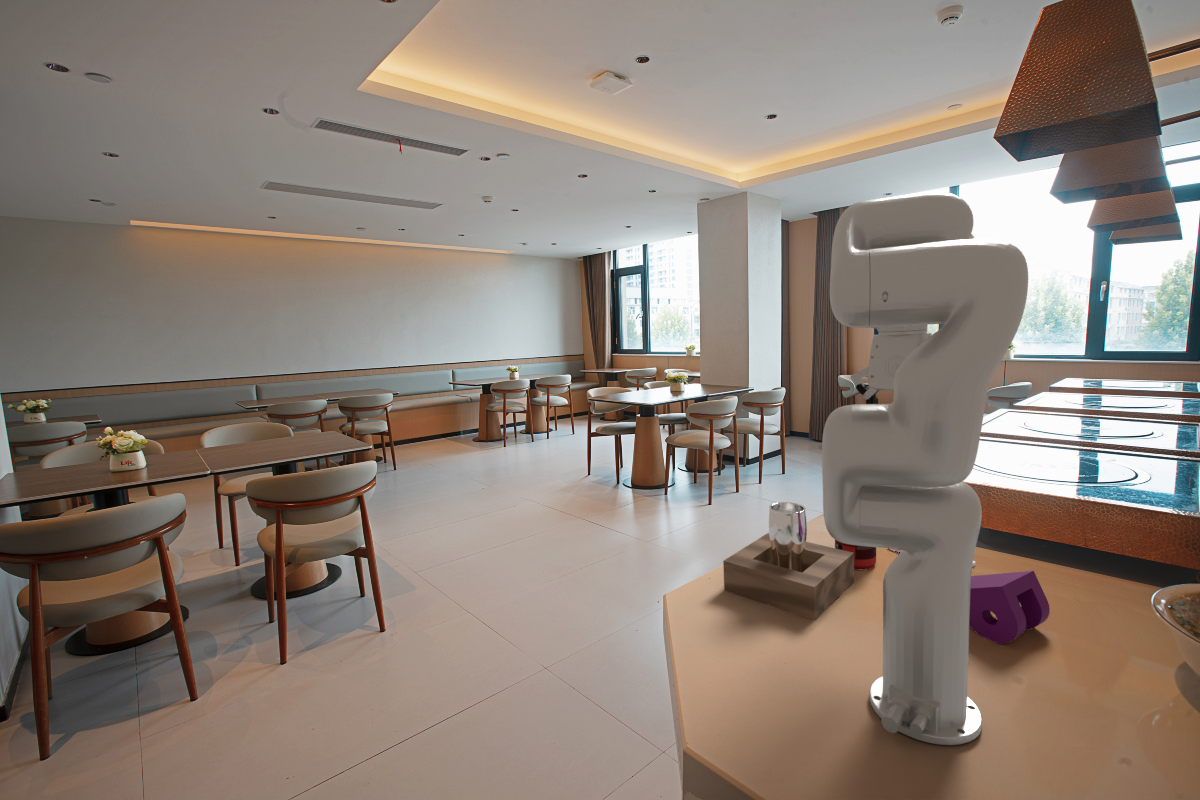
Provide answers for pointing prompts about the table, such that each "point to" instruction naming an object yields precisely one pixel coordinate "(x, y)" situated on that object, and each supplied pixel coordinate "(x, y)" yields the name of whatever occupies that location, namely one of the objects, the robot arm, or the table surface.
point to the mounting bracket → (1006, 605)
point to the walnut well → (790, 577)
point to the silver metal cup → (788, 534)
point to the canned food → (859, 554)
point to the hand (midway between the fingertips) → (901, 421)
